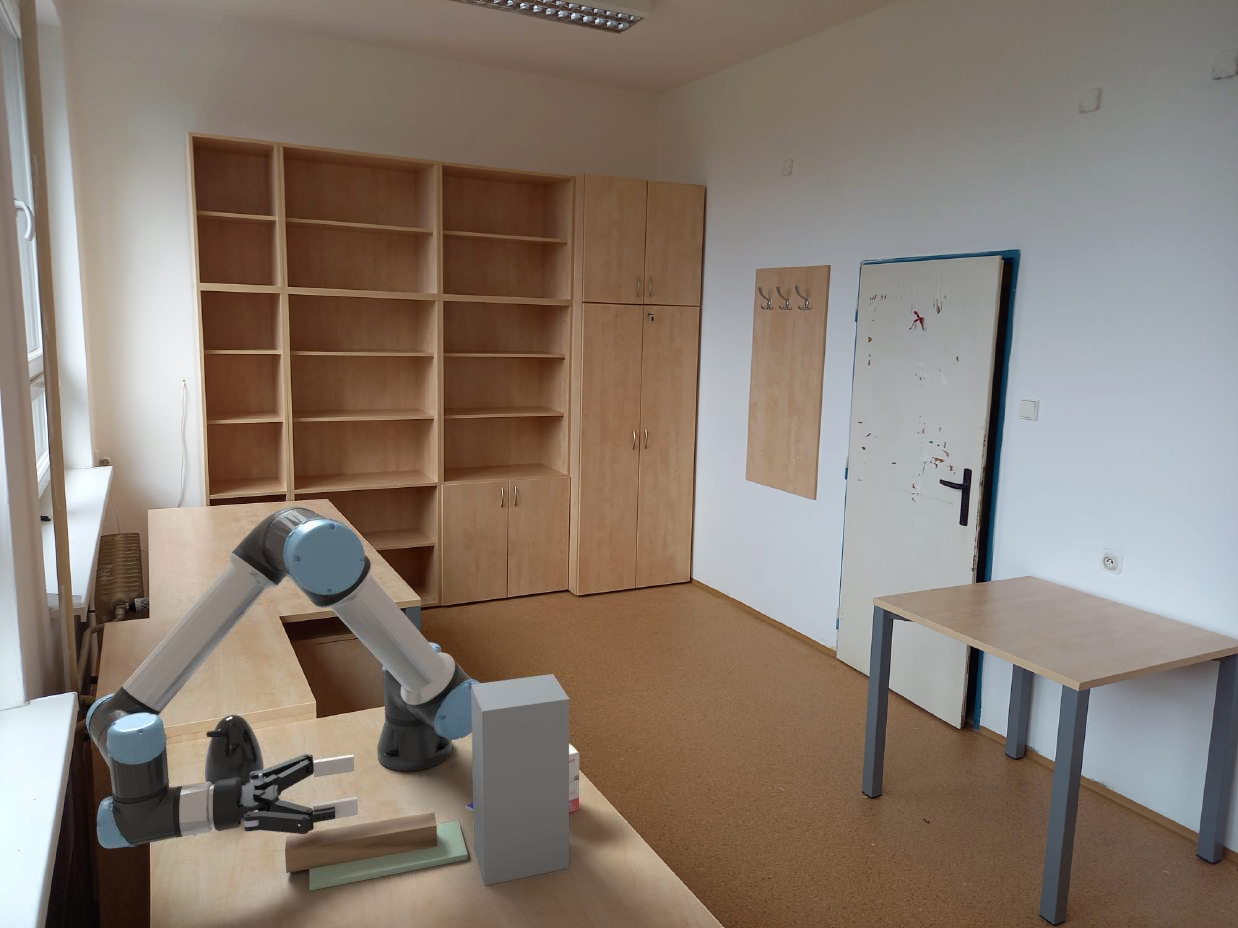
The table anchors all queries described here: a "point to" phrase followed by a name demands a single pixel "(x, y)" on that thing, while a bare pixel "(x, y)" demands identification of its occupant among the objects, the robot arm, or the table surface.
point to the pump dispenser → (232, 751)
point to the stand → (520, 777)
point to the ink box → (573, 779)
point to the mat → (394, 861)
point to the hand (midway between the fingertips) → (355, 783)
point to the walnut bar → (360, 842)
